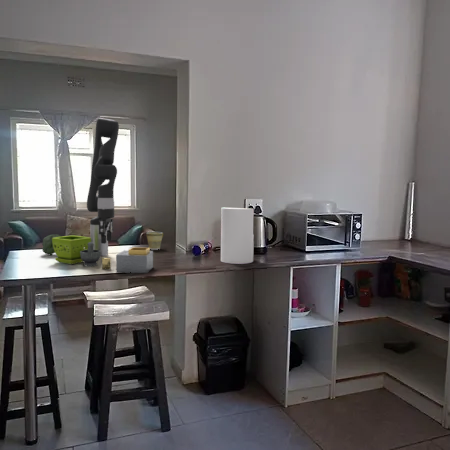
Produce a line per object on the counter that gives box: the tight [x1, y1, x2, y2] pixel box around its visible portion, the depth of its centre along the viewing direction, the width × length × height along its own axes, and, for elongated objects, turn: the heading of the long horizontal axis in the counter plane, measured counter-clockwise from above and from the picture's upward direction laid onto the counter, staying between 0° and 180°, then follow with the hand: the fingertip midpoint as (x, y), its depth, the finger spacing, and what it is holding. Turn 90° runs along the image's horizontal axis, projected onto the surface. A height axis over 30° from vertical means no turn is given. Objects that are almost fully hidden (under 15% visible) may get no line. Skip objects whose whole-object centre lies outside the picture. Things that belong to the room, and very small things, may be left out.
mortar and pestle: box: [80, 242, 101, 267], centre depth 218 cm, size 11×9×12 cm
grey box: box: [115, 246, 154, 274], centre depth 209 cm, size 14×13×10 cm
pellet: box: [101, 257, 112, 271], centre depth 211 cm, size 4×4×5 cm
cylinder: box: [220, 206, 255, 265], centre depth 235 cm, size 17×17×28 cm
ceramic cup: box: [145, 231, 164, 251], centre depth 271 cm, size 13×10×10 cm
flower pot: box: [52, 235, 91, 265], centre depth 225 cm, size 14×14×13 cm
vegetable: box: [42, 233, 65, 256], centre depth 246 cm, size 12×13×15 cm
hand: (106, 242), depth 209 cm, fingers open, 8 cm apart
